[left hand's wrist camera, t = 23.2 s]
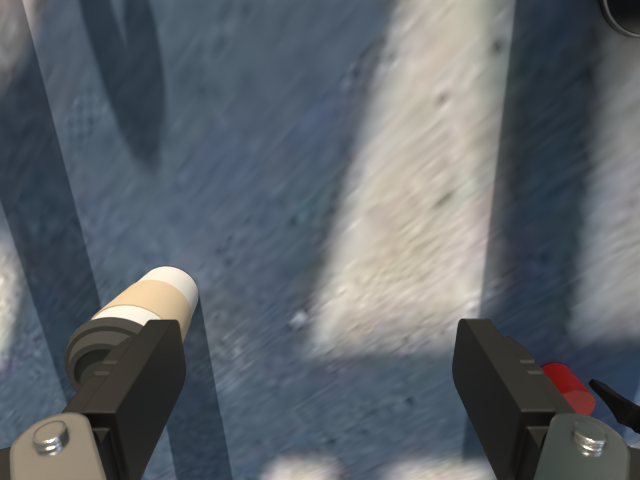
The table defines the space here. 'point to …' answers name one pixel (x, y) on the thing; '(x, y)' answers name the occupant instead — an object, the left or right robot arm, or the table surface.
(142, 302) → the coffee cup
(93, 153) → the table surface
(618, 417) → the right robot arm
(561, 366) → the canister
